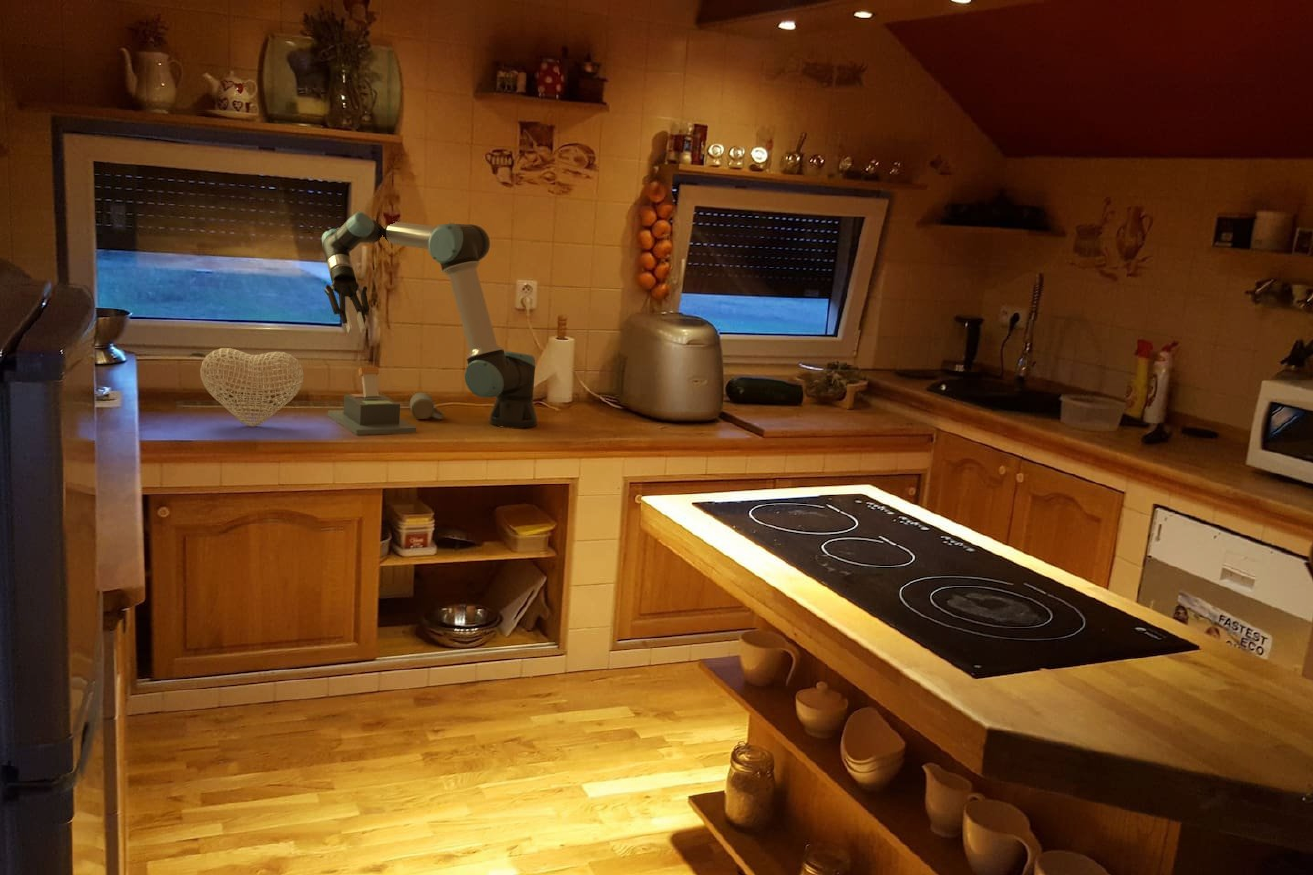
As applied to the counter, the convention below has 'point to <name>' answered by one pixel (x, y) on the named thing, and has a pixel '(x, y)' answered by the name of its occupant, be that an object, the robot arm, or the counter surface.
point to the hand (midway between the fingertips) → (356, 330)
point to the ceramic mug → (424, 407)
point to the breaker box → (371, 415)
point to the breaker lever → (369, 381)
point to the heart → (248, 356)
